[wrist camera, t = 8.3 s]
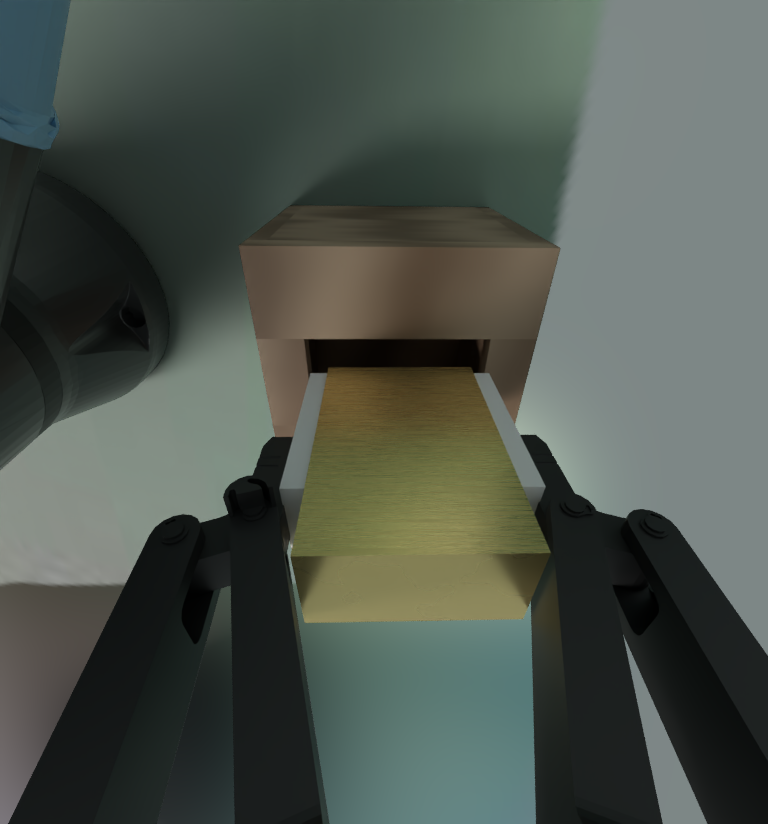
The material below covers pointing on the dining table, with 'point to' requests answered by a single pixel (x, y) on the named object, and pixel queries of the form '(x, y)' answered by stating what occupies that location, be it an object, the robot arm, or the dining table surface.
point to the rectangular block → (412, 504)
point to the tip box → (394, 295)
